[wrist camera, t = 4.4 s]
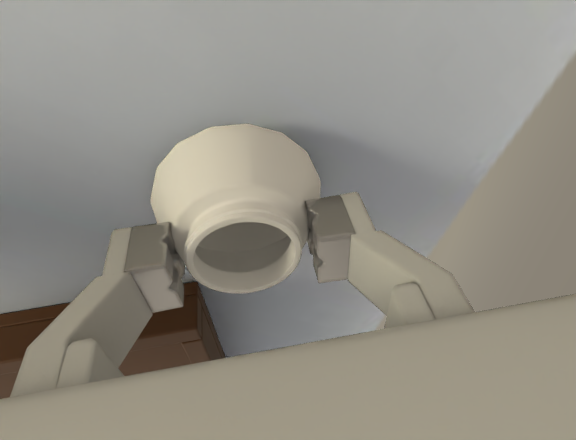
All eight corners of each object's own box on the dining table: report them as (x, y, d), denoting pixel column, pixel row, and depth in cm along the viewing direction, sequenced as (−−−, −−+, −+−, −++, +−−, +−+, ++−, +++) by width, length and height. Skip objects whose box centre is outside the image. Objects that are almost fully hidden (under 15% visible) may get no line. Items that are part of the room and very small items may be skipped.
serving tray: (-363, 374, 14) (-431, 438, 12) (197, 280, 15) (197, 328, 14) (-83, 475, 23) (-103, 518, 22) (245, 411, 25) (248, 448, 23)
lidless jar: (170, 95, 10) (143, 231, 13) (163, 162, 8) (132, 306, 11) (341, 141, 12) (282, 251, 15) (372, 205, 10) (296, 319, 13)
